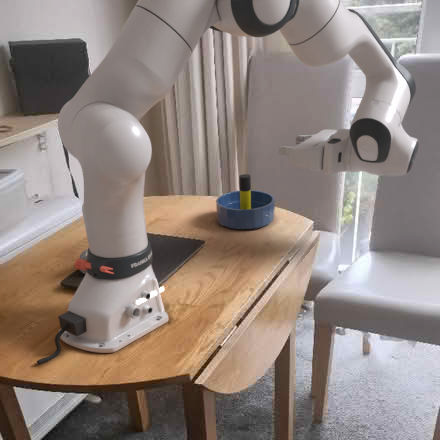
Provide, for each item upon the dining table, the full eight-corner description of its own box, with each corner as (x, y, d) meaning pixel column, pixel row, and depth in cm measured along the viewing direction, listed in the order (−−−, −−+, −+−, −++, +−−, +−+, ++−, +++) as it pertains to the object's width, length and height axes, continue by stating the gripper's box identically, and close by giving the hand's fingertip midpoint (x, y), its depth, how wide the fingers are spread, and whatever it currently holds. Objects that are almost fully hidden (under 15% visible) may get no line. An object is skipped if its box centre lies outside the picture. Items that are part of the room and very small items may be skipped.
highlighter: (247, 220, 155) (247, 178, 148) (238, 219, 156) (237, 176, 149) (253, 216, 157) (252, 174, 150) (243, 215, 158) (242, 173, 151)
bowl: (258, 234, 148) (257, 213, 145) (206, 225, 155) (205, 205, 151) (283, 214, 159) (284, 194, 155) (234, 207, 165) (234, 187, 162)
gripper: (361, 125, 139) (306, 120, 144) (328, 146, 125) (270, 140, 131) (358, 153, 142) (305, 147, 148) (326, 176, 128) (269, 169, 134)
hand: (288, 144), depth 139 cm, fingers open, 8 cm apart
